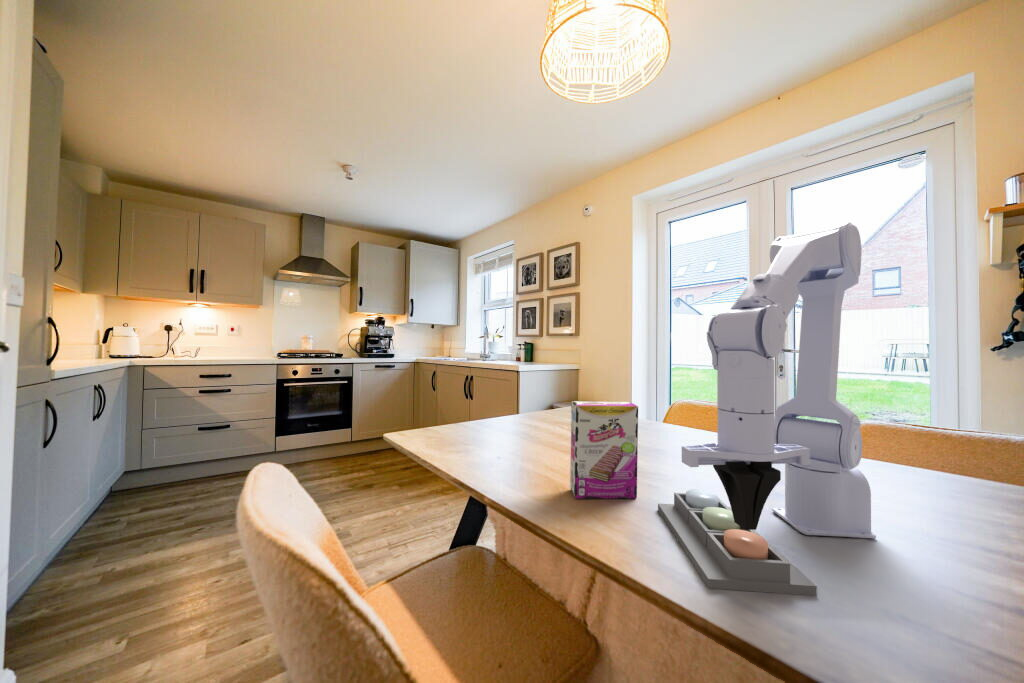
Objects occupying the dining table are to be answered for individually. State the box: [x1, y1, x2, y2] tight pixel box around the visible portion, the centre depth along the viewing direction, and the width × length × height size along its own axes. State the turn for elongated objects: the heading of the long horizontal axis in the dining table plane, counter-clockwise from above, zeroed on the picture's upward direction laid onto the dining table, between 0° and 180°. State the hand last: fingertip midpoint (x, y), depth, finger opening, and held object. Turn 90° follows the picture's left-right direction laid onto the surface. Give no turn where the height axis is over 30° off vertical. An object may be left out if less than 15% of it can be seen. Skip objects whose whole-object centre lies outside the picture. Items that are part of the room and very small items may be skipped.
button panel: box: [657, 492, 818, 596], centre depth 51 cm, size 11×20×3 cm, turn 174°
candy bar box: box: [569, 400, 639, 499], centre depth 68 cm, size 11×5×16 cm, turn 92°
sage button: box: [703, 507, 740, 530], centre depth 51 cm, size 4×4×2 cm
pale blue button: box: [685, 489, 719, 509], centre depth 57 cm, size 4×4×2 cm
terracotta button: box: [724, 529, 768, 560], centre depth 44 cm, size 4×4×2 cm
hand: (745, 525), depth 44 cm, fingers closed
